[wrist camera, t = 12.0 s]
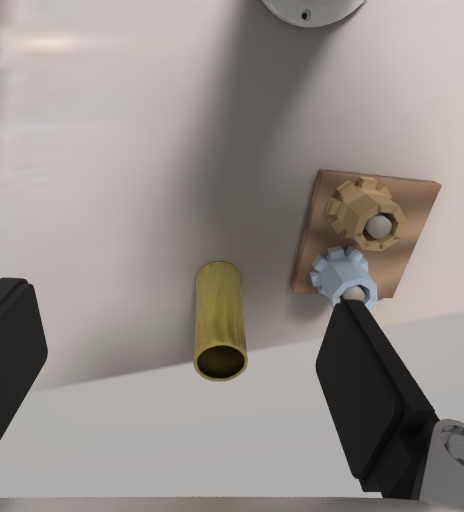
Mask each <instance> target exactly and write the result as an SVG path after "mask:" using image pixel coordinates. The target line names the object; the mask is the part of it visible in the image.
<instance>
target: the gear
mask: <svg viewBox="0 0 464 512" xmlns="http://www.w3.org/2000/svg"><path fill="white" fill-rule="evenodd" d="M362 257H363V255H362V254H361V252H360V251H358V250H356V249H354V248H353V247H351V246H349V247H348V248H347V250H346V251H345V252H344V249H343V248H342V247H341V245H339V246H335V247H332V248H328V256H326V257H324V256H322V255H320V254H319V255H318V256H317V258H316V259H315V260H314V262H313V263H312V265H313V267H314V269H316V270H314V271H311V272H310V277H311V282H312V284H313V286H314V287H315V286H317V287H316V288H317V290H318V292H319V293H321V294H323V295H325V296H327V297H328V299H329V301H330V303H331V305H332V307H333V309H334V306H335V304H336V303H340V301H341V300H342V299H344V298H343V296H342V293H343V292H344V291H345V290H346V289H347V288H348V287H352V286H355V285H359V287H360V288H361V289H362V291H363V292H364V294H365V298H364V300H363V303H364V304H365V306H366V307H367V309H369V308H370V307H371V306H372V305H373V304H374V303H375V302H376V300H377V299H378V297H377V285H376V283H375V282H374V281H373V280H372V278H371V277H370V276H369V274H368V273H369V272H368V262H367V261H366V260H365V258H362Z"/></svg>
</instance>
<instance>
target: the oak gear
mask: <svg viewBox="0 0 464 512" xmlns="http://www.w3.org/2000/svg"><path fill="white" fill-rule="evenodd" d="M377 183H378V181H377V180H375V179H374V178H368V177H359V180H358V183H357V185H354V184H353V183H352V182H351V181H350V180H348V181H346V182H345V183H343V184H342V185H341V186H339V187H338V188H336V189H337V190H338V192H339V194H340V196H339V197H338V198H330V199H329V202H328V206H327V210H326V211H327V212H328V214H329V215H334V216H333V217H331V218H330V219H328V221H329V223H330V224H331V226H332V227H333V228H334V230H335V231H336V232H337V234H338V233H339V232H341V231H342V230H343V232H342V234H343V236H344V237H345V238H352V239H354V240H355V241H356V242H357V244H358V245H359V246H360V247H361V248H362V250H373V251H383V250H384V249H386V248H387V247H389V246H391V245H392V244H394V243H396V242H397V241H399V240H400V238H401V236H402V233H403V231H404V229H405V226H406V224H407V219H406V218H405V216H404V214H403V212H402V210H401V209H400V207H399V206H398V205H397V204H396V203H394V202H393V201H391V200H390V198H392V196H391V194H390V192H389V190H388V188H387V187H386V186H385V185H384V184H382V183H381V184H379V185H378V186H377ZM379 212H380V213H381V214H382V215H383V216H385V217H386V218H387V219H388V220H389V221H390V222H391V224H392V227H391V230H390V232H389V233H388V234H387V235H386V236H385V237H383V238H374V237H372V236H371V235H370V234H369V233H368V232H367V231H366V230H365V229H364V226H365V223H366V221H367V220H368V219H370V218H371V217H373V216H374V215H376V214H377V213H379Z"/></svg>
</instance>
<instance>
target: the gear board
mask: <svg viewBox="0 0 464 512" xmlns="http://www.w3.org/2000/svg"><path fill="white" fill-rule="evenodd" d="M359 177H368V178H374V179H375V180H377V181H378V183H377V186H378V185H379V184H381V183H382V184H384V185H385V186H386V187H387V188H388V190H389V192H390V194H391V196H392V198H390V200H391V201H393V202H394V203H396V204H397V205H398V206H399V207H400V209H401V210H402V212H403V214H404V216H405V218H406V219H407V224H406V226H405V229H404V231H403V233H402V236H401V238H400V240H399V241H397V242H396V243H394V244H392V245H391V246H389V247H387V248H386V249H384V250H383V251H373V250H362V248H361V247H360V246H359V245H358V244H357V242H356V241H355V240H354V239H352V238H345V237H344V236H343V234H342V232H343V230H342V231H341V232H339V233H338V234H337V232H336V231H335V230H334V228H333V227H332V226H331V224H330V223H329V221H328V219H330V218H331V217H333V216H334V215H329V214H328V212H327V211H326V210H327V206H328V202H329V199H330V198H338V197H339V196H340V194H339V192H338V190H337V189H336V188H338V187H339V186H341V185H342V184H343V183H345V182H346V181H348V180H350V181H351V182H352V183H353V184H354V185H357V183H358V180H359ZM441 186H442V185H440V184H438V183H436V182H434V181H426V180H417V179H407V178H397V177H388V176H378V175H369V174H359V173H350V172H340V171H331V170H321V169H319V173H318V177H317V181H316V185H315V189H314V193H313V197H312V202H311V206H310V210H309V214H308V218H307V222H306V226H305V230H304V234H303V238H302V242H301V246H300V250H299V254H298V259H297V263H296V267H295V271H294V275H293V279H292V283H291V287H292V290H293V292H302V293H317V294H321V293H319V292H318V290H317V288H316V287H317V286H315V287H314V286H313V284H312V282H311V277H310V272H311V271H314V270H316V269H314V267H313V265H312V263H313V262H314V260H315V259H316V258H317V256H318V255H319V254H320V255H322V256H324V257H326V256H328V248H332V247H335V246H339V245H341V247H342V248H343V249H344V252H345V251H346V250H347V248H348V247H349V246H351V247H353V248H354V249H356V250H358V251H360V252H361V254H362V255H363V257H362V258H365V260H366V261H367V262H368V272H369V273H368V274H369V276H370V277H371V278H372V280H373V281H374V282H375V283H376V285H377V297H379V298H393V295H394V293H395V291H396V288H397V286H398V284H399V282H400V279H401V277H402V275H403V272H404V270H405V268H406V266H407V263H408V261H409V259H410V257H411V254H412V252H413V250H414V247H415V245H416V243H417V241H418V238H419V236H420V234H421V231H422V229H423V227H424V225H425V222H426V220H427V218H428V215H429V213H430V211H431V209H432V206H433V204H434V202H435V199H436V197H437V195H438V193H439V190H440V188H441ZM391 227H392V224H391V222H390V221H389V220H388V219H387V218H386V217H385V216H383V215H382V214H381V213H380V212H379V213H377V214H376V215H374V216H373V217H371V218H370V219H368V220H367V221H366V223H365V226H364V229H365V230H366V231H367V232H368V233H369V234H370V235H371V236H372V237H374V238H383V237H385V236H386V235H387V234H388V233H389V232H390V230H391ZM342 296H343V298H344V299H355V300H362V301H363V300H364V298H365V294H364V292H363V291H362V289H361V288H360V287H359V285H355V286H352V287H348V288H347V289H346V290H345V291H344V292H343V293H342Z"/></svg>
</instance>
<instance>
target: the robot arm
mask: <svg viewBox="0 0 464 512" xmlns="http://www.w3.org/2000/svg"><path fill="white" fill-rule="evenodd" d="M261 1H262V2H263V3H264V4H265V6H266V7H267V8H268V9H269V10H270V11H271V12H272V13H273V14H275V15H276V16H277V17H278V18H280V19H281V20H283V21H285V22H287V23H290V24H292V25H295V26H300V27H305V28H306V27H320V26H324V25H328V24H331V23H334V22H336V21H338V20H341V19H342V18H344V17H345V16H347V15H349V14H350V13H352V12H353V11H354V10H355V9H356V8H358V7H359V6H360V5H361V4H362V3H363V2H364V1H365V0H261ZM303 13H305V14H306V19H305V20H304V19H302V14H303ZM47 355H48V349H47V344H46V340H45V335H44V331H43V326H42V322H41V317H40V313H39V308H38V303H37V299H36V294H35V290H34V287H33V285H32V284H28V282H27V280H26V279H21V278H5V277H4V278H1V279H0V440H1V438H2V436H3V434H4V433H5V431H6V429H7V427H8V426H9V424H10V422H11V421H12V419H13V417H14V415H15V413H16V412H17V410H18V408H19V407H20V405H21V403H22V401H23V400H24V398H25V396H26V395H27V393H28V391H29V389H30V388H31V386H32V384H33V383H34V381H35V379H36V377H37V376H38V374H39V372H40V370H41V369H42V367H43V365H44V363H45V361H46V359H47ZM316 373H317V376H318V378H319V381H320V384H321V387H322V390H323V393H324V396H325V399H326V401H327V404H328V407H329V410H330V413H331V416H332V419H333V421H334V424H335V427H336V430H337V433H338V436H339V439H340V442H341V444H342V447H343V450H344V453H345V456H346V458H347V462H348V465H349V467H350V470H351V473H352V475H353V476H354V477H355V478H356V479H359V482H360V484H361V487H362V490H363V492H381V494H382V497H383V498H346V497H69V498H68V497H66V498H0V512H464V423H462V422H460V421H456V420H451V419H445V420H441V421H440V420H439V418H438V417H437V415H436V414H435V410H434V409H433V407H432V406H431V404H430V403H429V401H428V400H427V398H426V396H425V395H424V394H423V392H422V390H421V389H420V388H419V386H418V384H417V383H416V381H415V380H414V378H413V377H412V375H411V374H410V372H409V371H408V369H407V368H406V366H405V365H404V363H403V362H402V360H401V359H400V357H399V356H398V354H397V353H396V351H395V350H394V348H393V347H392V345H391V344H390V342H389V340H388V339H387V337H386V336H385V334H384V333H383V332H382V330H381V328H380V327H379V325H378V324H377V322H376V321H375V319H374V318H373V316H372V315H371V313H370V312H369V310H368V309H367V307H366V306H365V304H364V303H363V301H362V300H355V299H342V300H341V301H340V303H336V304H335V306H334V309H333V312H332V315H331V318H330V321H329V324H328V327H327V330H326V333H325V336H324V339H323V342H322V345H321V348H320V351H319V354H318V357H317V360H316Z"/></svg>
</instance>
